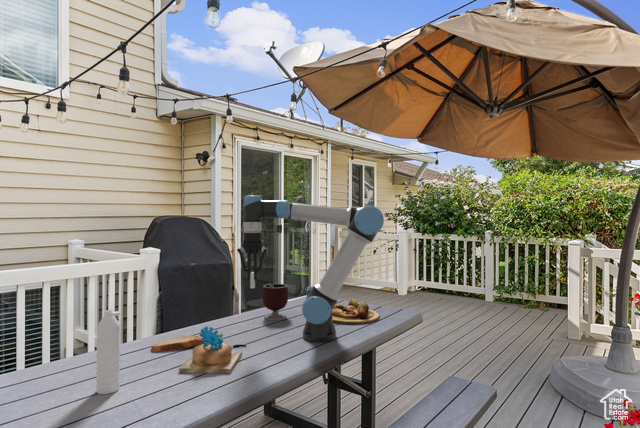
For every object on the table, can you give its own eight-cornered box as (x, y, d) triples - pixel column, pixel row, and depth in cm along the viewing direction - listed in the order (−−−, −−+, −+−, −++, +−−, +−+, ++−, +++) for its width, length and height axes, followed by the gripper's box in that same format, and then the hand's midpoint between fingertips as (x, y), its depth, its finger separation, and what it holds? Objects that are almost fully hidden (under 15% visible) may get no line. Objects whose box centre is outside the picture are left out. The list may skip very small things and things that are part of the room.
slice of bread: (146, 352, 160) (146, 343, 160) (173, 339, 178) (173, 330, 178) (185, 356, 156) (185, 346, 156) (209, 342, 173) (209, 333, 173)
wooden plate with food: (311, 321, 207) (311, 305, 207) (331, 308, 237) (332, 294, 237) (370, 329, 195) (371, 312, 195) (384, 314, 225) (385, 299, 225)
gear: (209, 349, 141) (197, 326, 145) (199, 360, 142) (187, 336, 147) (230, 345, 150) (218, 323, 155) (221, 355, 152) (209, 333, 156)
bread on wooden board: (241, 355, 156) (241, 341, 156) (230, 373, 138) (230, 357, 138) (196, 354, 157) (196, 340, 157) (179, 372, 139) (179, 356, 139)
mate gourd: (269, 313, 224) (269, 277, 224) (292, 315, 219) (292, 279, 219) (256, 320, 209) (256, 282, 209) (280, 322, 204) (280, 283, 205)
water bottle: (92, 391, 124) (92, 311, 124) (113, 384, 129) (113, 307, 129) (106, 398, 119) (107, 314, 119) (127, 390, 124) (128, 310, 124)
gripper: (235, 232, 165) (235, 289, 164) (266, 232, 164) (266, 289, 164) (239, 231, 172) (239, 286, 172) (269, 231, 172) (269, 286, 172)
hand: (252, 287), depth 168 cm, fingers closed
